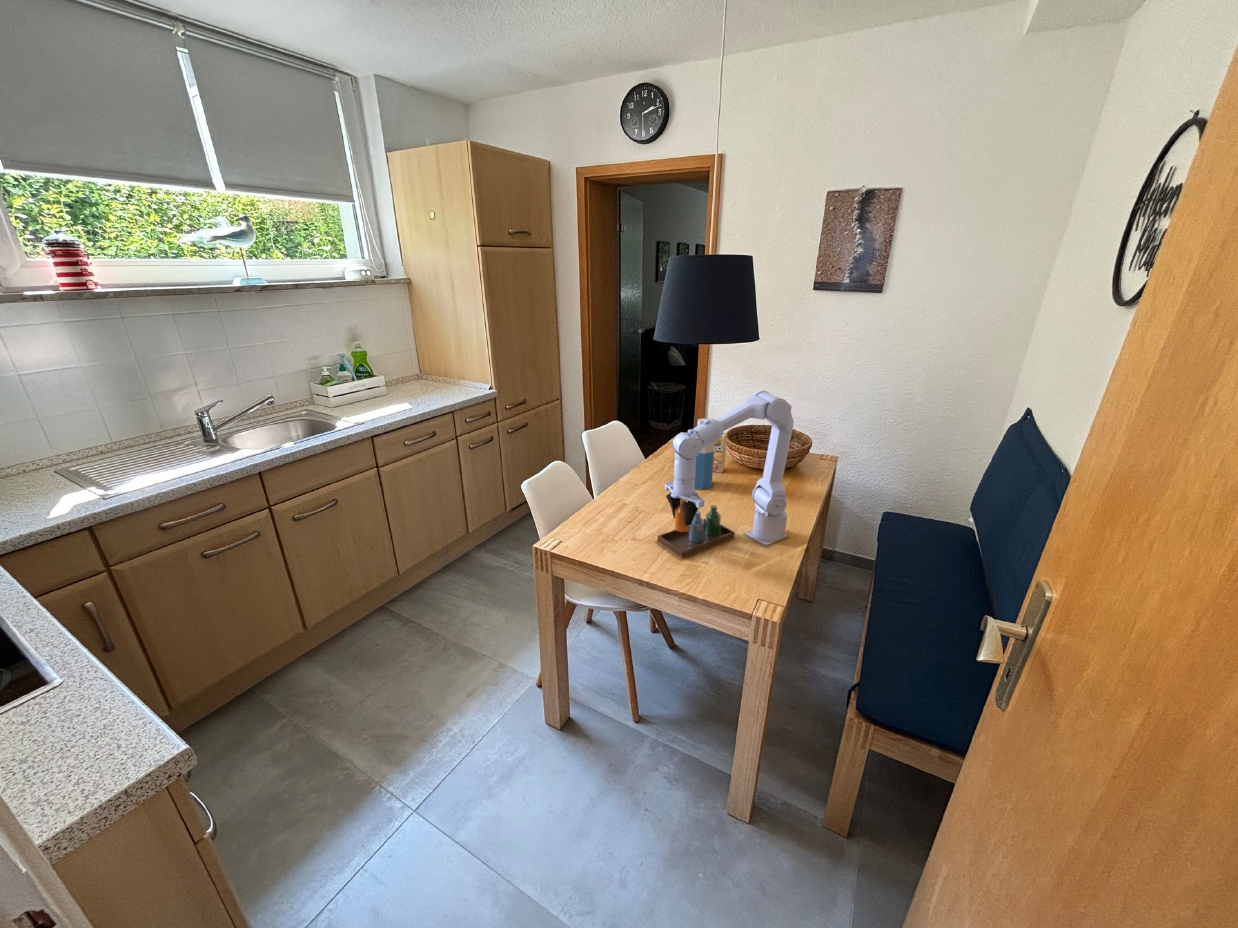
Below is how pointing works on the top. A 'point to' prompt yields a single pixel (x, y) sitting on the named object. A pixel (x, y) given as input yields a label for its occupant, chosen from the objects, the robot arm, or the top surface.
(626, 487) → the top surface
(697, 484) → the water bottle
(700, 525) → the blue-grey bottle
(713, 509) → the green bottle
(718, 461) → the candy box
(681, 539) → the tray
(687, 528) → the amber bottle
